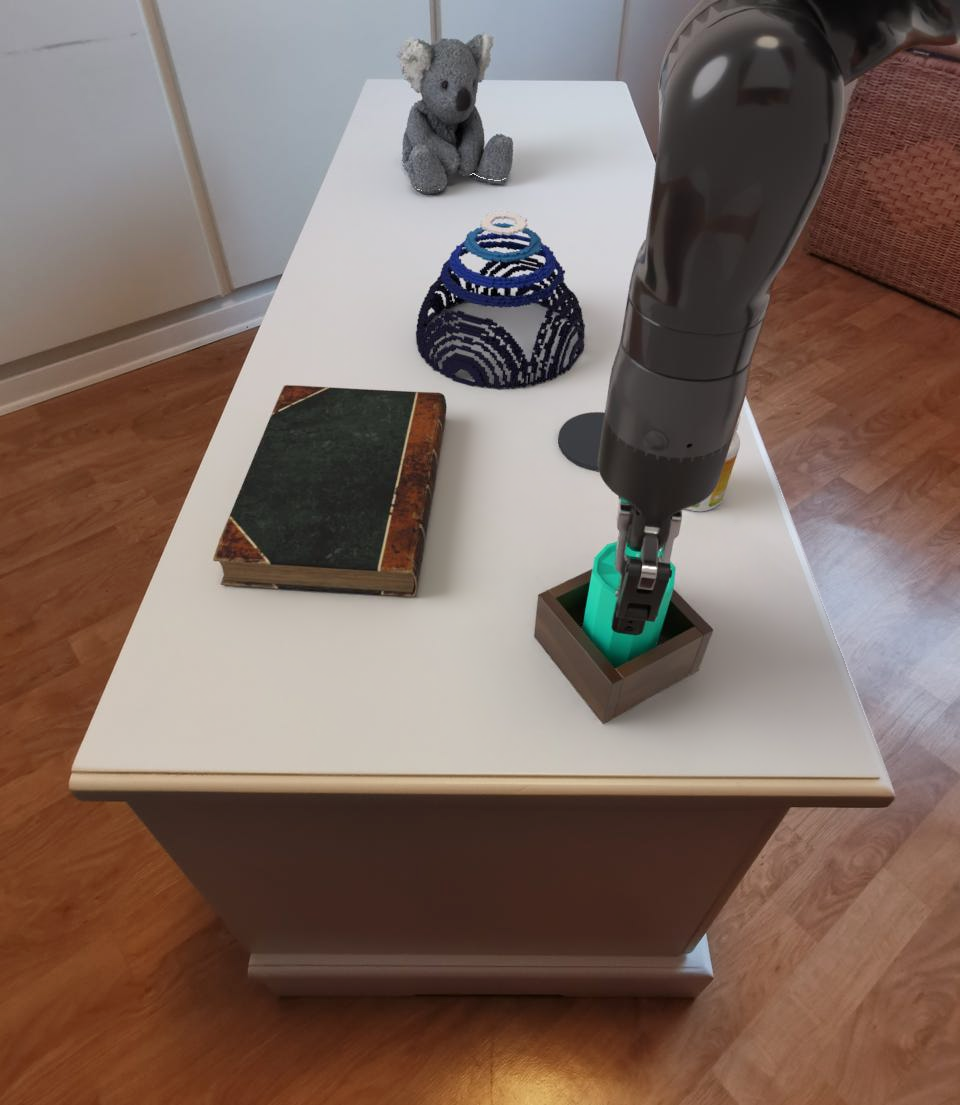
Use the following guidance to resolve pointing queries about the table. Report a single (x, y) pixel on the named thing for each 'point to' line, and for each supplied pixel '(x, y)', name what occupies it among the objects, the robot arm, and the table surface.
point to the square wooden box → (594, 673)
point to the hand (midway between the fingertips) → (628, 594)
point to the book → (337, 493)
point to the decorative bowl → (495, 299)
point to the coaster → (582, 439)
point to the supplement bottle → (721, 477)
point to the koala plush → (449, 114)
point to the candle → (602, 609)
